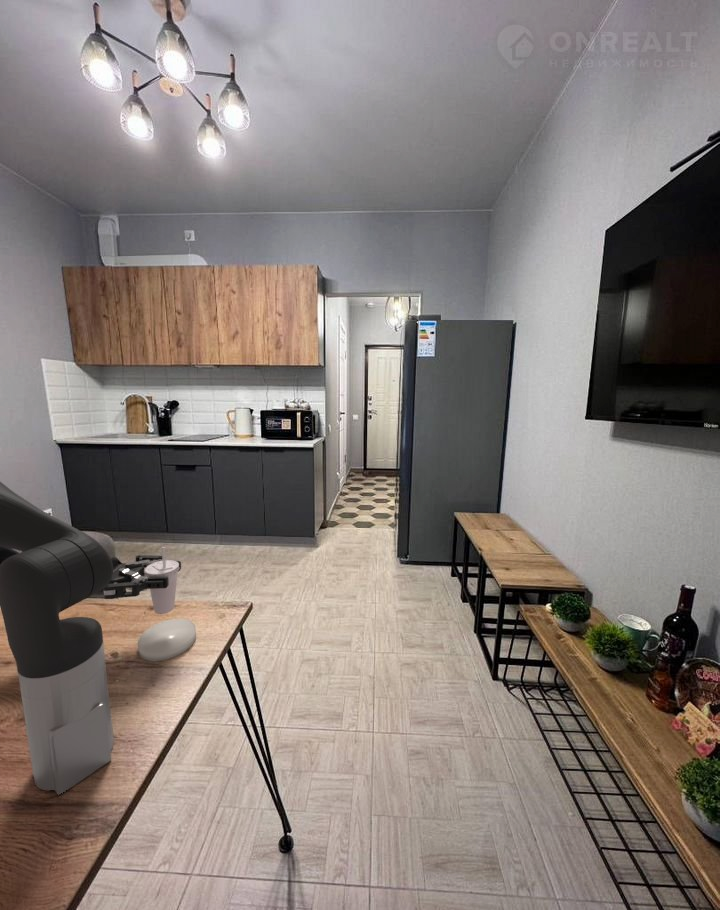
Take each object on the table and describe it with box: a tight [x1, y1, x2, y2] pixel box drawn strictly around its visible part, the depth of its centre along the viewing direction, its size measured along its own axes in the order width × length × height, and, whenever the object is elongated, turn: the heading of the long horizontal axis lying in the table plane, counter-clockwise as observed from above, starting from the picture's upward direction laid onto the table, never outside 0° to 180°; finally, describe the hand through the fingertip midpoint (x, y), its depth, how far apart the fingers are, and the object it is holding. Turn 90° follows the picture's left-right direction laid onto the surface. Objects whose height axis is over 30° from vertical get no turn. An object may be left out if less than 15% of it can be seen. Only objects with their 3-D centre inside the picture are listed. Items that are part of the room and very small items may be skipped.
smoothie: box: [144, 546, 179, 615], centre depth 75 cm, size 6×6×14 cm
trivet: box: [137, 618, 197, 662], centre depth 77 cm, size 11×11×2 cm
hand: (174, 573), depth 75 cm, fingers closed on smoothie, 6 cm apart
